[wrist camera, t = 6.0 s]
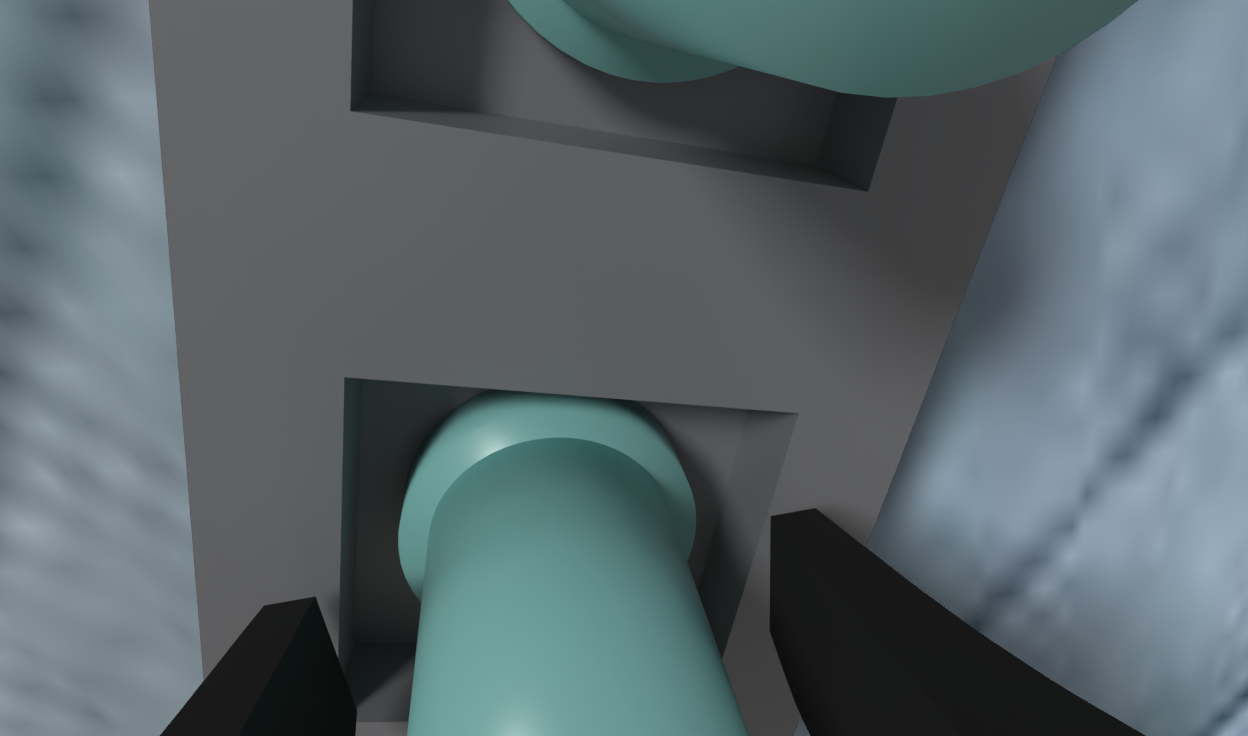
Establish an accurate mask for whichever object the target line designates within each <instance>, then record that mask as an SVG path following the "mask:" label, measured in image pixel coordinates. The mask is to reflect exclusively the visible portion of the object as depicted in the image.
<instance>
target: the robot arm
mask: <svg viewBox="0 0 1248 736" xmlns="http://www.w3.org/2000/svg"><path fill="white" fill-rule="evenodd" d="M769 631H770V634H771V637H772V639H773V642H774V645H775V648H776V651H777V654H778V657H779V660H780V663H781V666H782V668H783V671H784V674H785V677H786V679H787V682H788V685H789V688H790V690H791V693H792V696H793V699H794V701H795V704H796V706H797V708H798V711H799V713H800V715H801V717H802V719H803V721H804V723H805V725H806V727H807V729H808V731H809V734H810V736H1145V735H1143V734H1142V733H1140V732H1138V731H1137V730H1135V729H1133V728H1131V727H1130V726H1128V725H1126V724H1124V723H1123V722H1121V721H1119V720H1118V719H1116V718H1114V717H1112V716H1111V715H1109V714H1107V713H1106V712H1104V711H1102V710H1100V709H1099V708H1097V707H1095V706H1093V705H1092V704H1090V703H1088V702H1087V701H1085V700H1083V699H1081V698H1080V697H1078V696H1076V695H1075V694H1073V693H1071V692H1070V691H1068V690H1067V689H1065V688H1063V687H1062V686H1060V685H1059V684H1057V683H1055V682H1054V681H1052V680H1050V679H1049V678H1047V677H1046V676H1044V675H1043V674H1041V673H1039V672H1038V671H1036V670H1035V669H1033V668H1032V667H1030V666H1029V665H1027V664H1026V663H1024V662H1023V661H1021V660H1020V659H1018V658H1017V657H1015V656H1014V655H1012V654H1011V653H1009V652H1008V651H1006V650H1005V649H1003V648H1002V647H1000V646H999V645H997V644H996V643H994V642H993V641H991V640H990V639H988V638H987V637H985V636H984V635H982V634H981V633H979V632H978V631H977V630H975V629H974V628H972V627H971V626H969V625H968V624H967V623H965V622H964V621H962V620H961V619H960V618H958V617H957V616H956V615H954V614H953V613H951V612H950V611H949V610H947V609H946V608H945V607H943V606H942V605H940V604H939V603H938V602H936V601H935V600H934V599H932V598H931V597H930V596H928V595H927V594H925V593H924V592H923V591H921V590H920V589H919V588H917V587H916V586H915V585H913V584H912V583H911V582H910V581H908V580H907V579H906V578H904V577H903V576H902V575H900V574H899V573H898V572H896V571H895V570H894V569H893V568H891V567H890V566H889V565H887V564H886V563H885V562H884V561H882V560H881V559H880V558H878V557H877V556H876V555H875V554H873V553H872V552H871V551H870V550H868V549H867V548H866V547H864V546H863V545H862V544H861V543H859V542H858V541H857V540H856V539H854V538H853V537H852V536H851V535H849V534H848V533H847V532H845V531H844V530H843V529H842V528H840V527H839V526H838V525H837V524H835V523H834V522H833V521H831V520H830V519H829V518H828V517H826V516H825V515H824V514H822V513H821V512H820V511H819V510H817V509H816V508H813V509H807V510H801V511H796V512H790V513H784V514H779V515H773V516H771V522H770V630H769ZM356 721H357V709H356V706H355V703H354V701H353V698H352V695H351V692H350V690H349V687H348V684H347V681H346V679H345V676H344V673H343V670H342V668H341V665H340V662H339V659H338V657H337V654H336V651H335V648H334V646H333V643H332V640H331V637H330V635H329V632H328V629H327V626H326V624H325V621H324V618H323V615H322V613H321V610H320V607H319V604H318V602H317V599H316V596H315V597H309V598H304V599H298V600H292V601H287V602H281V603H275V604H270V605H264V606H263V607H262V609H261V610H260V611H259V612H258V613H257V615H256V616H255V617H254V618H253V620H252V621H251V622H250V623H249V624H248V626H247V627H246V628H245V629H244V631H243V632H242V633H241V634H240V636H239V637H238V638H237V639H236V641H235V642H234V643H233V644H232V646H231V647H230V648H229V650H228V651H227V652H226V653H225V655H224V656H223V657H222V658H221V660H220V661H219V662H218V663H217V665H216V666H215V667H214V669H213V670H212V671H211V672H210V674H209V675H208V676H207V677H206V679H205V680H204V681H203V683H202V684H201V685H200V686H199V688H198V689H197V690H196V691H195V693H194V694H193V695H192V696H191V698H190V699H189V700H188V701H187V703H186V704H185V705H184V707H183V708H182V709H181V710H180V712H179V713H178V714H177V715H176V716H175V718H174V719H173V720H172V721H171V723H170V724H169V725H168V726H167V727H166V729H165V730H164V731H163V732H162V734H161V735H160V736H355V735H356Z"/></svg>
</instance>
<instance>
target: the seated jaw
mask: <svg viewBox="0 0 1248 736" xmlns="http://www.w3.org/2000/svg"><path fill="white" fill-rule="evenodd" d="M1136 1H1138V0H507V2H508V3H509V4H510V5H511V7H512V8H513V9H514V10H515V12H516V13H517V14H518V15H519V16H520V17H521V18H522V19H523V20H524V21H525V22H526V23H527V24H528V25H529V26H530V27H531V28H532V29H533V30H534V31H536V32H537V33H538V34H540V35H541V36H542V37H543V38H545V39H546V40H547V41H549V42H550V43H551V44H553V45H554V46H555V47H557V48H558V49H560V50H561V51H563V52H565V53H566V54H568V55H570V56H572V57H573V58H575V59H577V60H579V61H580V62H582V63H584V64H586V65H588V66H591V67H593V68H595V69H598V70H600V71H603V72H605V73H608V74H611V75H615V76H619V77H623V78H626V79H630V80H635V81H645V82H654V83H670V82H686V81H692V80H697V79H703V78H708V77H711V76H714V75H717V74H720V73H723V72H726V71H729V70H732V69H734V68H736V67H738V66H741V67H745V68H749V69H753V70H756V71H760V72H764V73H768V74H772V75H776V76H779V77H783V78H787V79H791V80H795V81H799V82H802V83H806V84H810V85H814V86H818V87H822V88H825V89H829V90H833V91H837V92H841V93H848V94H857V95H866V96H876V97H885V98H890V97H914V96H932V95H938V94H943V93H948V92H954V91H959V90H965V89H970V88H975V87H978V86H981V85H984V84H987V83H990V82H993V81H996V80H999V79H1002V78H1005V77H1009V76H1012V75H1015V74H1018V73H1020V72H1022V71H1025V70H1027V69H1029V68H1031V67H1033V66H1035V65H1037V64H1039V63H1041V62H1043V61H1045V60H1048V59H1050V58H1052V57H1054V56H1056V55H1058V54H1060V53H1062V52H1064V51H1066V50H1067V49H1069V48H1071V47H1072V46H1074V45H1075V44H1077V43H1079V42H1080V41H1082V40H1083V39H1085V38H1087V37H1088V36H1090V35H1091V34H1093V33H1094V32H1096V31H1098V30H1099V29H1101V28H1102V27H1104V26H1106V25H1107V24H1108V23H1110V22H1111V21H1112V20H1113V19H1115V18H1116V17H1117V16H1119V15H1120V14H1121V13H1122V12H1124V11H1125V10H1126V9H1127V8H1129V7H1130V6H1131V5H1133V4H1134V3H1135V2H1136Z"/></svg>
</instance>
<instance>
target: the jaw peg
mask: <svg viewBox="0 0 1248 736" xmlns="http://www.w3.org/2000/svg"><path fill="white" fill-rule="evenodd" d="M695 531H696V510H695V502H694V498H693V495H692V491H691V488H690V485H689V483H688V481H687V478H686V476H685V473H684V471H683V469H682V466H681V464H680V462H679V459H678V457H677V454H676V452H675V450H674V447H673V445H672V443H671V441H670V438H669V437H668V435H667V434H666V432H665V430H664V429H663V427H662V426H661V424H660V423H659V422H658V421H657V420H656V419H655V418H654V417H653V415H652V414H651V413H650V412H649V411H647V410H646V409H645V408H644V407H643V406H641V405H640V404H639V403H638V402H636V401H635V400H625V399H612V398H600V397H587V396H574V395H562V394H549V393H537V392H524V391H511V390H499V389H488V390H486V391H484V392H482V393H479V394H477V395H475V396H473V397H472V398H470V399H468V400H467V401H465V402H463V403H462V404H460V405H459V406H457V407H456V408H455V409H453V410H452V411H451V412H450V413H448V414H447V415H446V416H445V417H444V418H443V419H442V420H441V421H440V422H439V423H438V424H437V425H436V426H435V427H434V428H433V429H432V430H431V431H430V433H429V434H428V435H427V437H426V438H425V439H424V441H423V442H422V444H421V446H420V447H419V449H418V451H417V453H416V455H415V457H414V459H413V462H412V465H411V467H410V470H409V473H408V478H407V484H406V489H405V495H404V501H403V507H402V513H401V519H400V525H399V531H398V549H399V556H400V562H401V566H402V569H403V572H404V575H405V578H406V580H407V582H408V584H409V585H410V587H411V589H412V591H413V593H414V594H415V595H416V597H417V598H418V599H419V601H420V602H421V610H420V620H419V629H418V638H417V647H416V656H415V666H414V675H413V684H412V693H411V702H410V712H409V721H408V730H407V736H749V733H748V730H747V728H746V725H745V722H744V719H743V716H742V714H741V711H740V708H739V705H738V702H737V700H736V697H735V694H734V691H733V688H732V686H731V683H730V680H729V677H728V674H727V672H726V669H725V666H724V663H723V661H722V658H721V655H720V652H719V649H718V647H717V644H716V641H715V638H714V635H713V633H712V630H711V627H710V624H709V621H708V619H707V616H706V613H705V610H704V607H703V605H702V602H701V599H700V596H699V594H698V591H697V588H696V585H695V582H694V580H693V577H692V574H691V571H690V568H689V566H688V563H687V561H688V558H689V555H690V553H691V550H692V547H693V542H694V538H695Z"/></svg>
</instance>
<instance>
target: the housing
mask: <svg viewBox="0 0 1248 736" xmlns="http://www.w3.org/2000/svg"><path fill="white" fill-rule="evenodd" d="M149 9H150V22H151V34H152V46H153V59H154V71H155V83H156V96H157V108H158V120H159V133H160V145H161V158H162V170H163V182H164V195H165V207H166V219H167V232H168V244H169V256H170V269H171V281H172V294H173V306H174V318H175V331H176V343H177V355H178V368H179V380H180V393H181V405H182V417H183V430H184V442H185V454H186V467H187V479H188V491H189V504H190V516H191V529H192V541H193V553H194V566H195V578H196V590H197V603H198V615H199V628H200V640H201V652H202V665H203V677H204V680H205V679H206V677H207V676H208V675H209V674H210V672H211V671H212V670H213V669H214V667H215V666H216V665H217V663H218V662H219V661H220V660H221V658H222V657H223V656H224V655H225V653H226V652H227V651H228V650H229V648H230V647H231V646H232V644H233V643H234V642H235V641H236V639H237V638H238V637H239V636H240V634H241V633H242V632H243V631H244V629H245V628H246V627H247V626H248V624H249V623H250V622H251V621H252V620H253V618H254V617H255V616H256V615H257V613H258V612H259V611H260V610H261V609H262V607H263V606H264V605H270V604H275V603H281V602H287V601H292V600H298V599H304V598H309V597H315V596H316V599H317V602H318V604H319V607H320V610H321V613H322V615H323V618H324V621H325V624H326V626H327V629H328V632H329V635H330V637H331V640H332V643H333V646H334V648H335V651H336V654H337V657H338V659H339V662H340V665H341V668H342V670H343V673H344V676H345V679H346V681H347V684H348V687H349V690H350V692H351V695H352V698H353V701H354V703H355V706H356V709H357V721H356V735H355V736H407V730H408V721H409V712H410V702H411V693H412V684H413V675H414V666H415V656H416V647H417V638H418V629H419V620H420V610H421V602H420V601H419V599H418V598H417V597H416V595H415V594H414V593H413V591H412V589H411V587H410V585H409V584H408V582H407V580H406V578H405V575H404V572H403V569H402V566H401V562H400V556H399V549H398V531H399V525H400V519H401V513H402V507H403V501H404V495H405V489H406V484H407V478H408V473H409V470H410V467H411V465H412V462H413V459H414V457H415V455H416V453H417V451H418V449H419V447H420V446H421V444H422V442H423V441H424V439H425V438H426V437H427V435H428V434H429V433H430V431H431V430H432V429H433V428H434V427H435V426H436V425H437V424H438V423H439V422H440V421H441V420H442V419H443V418H444V417H445V416H446V415H447V414H448V413H450V412H451V411H452V410H453V409H455V408H456V407H457V406H459V405H460V404H462V403H463V402H465V401H467V400H468V399H470V398H472V397H473V396H475V395H477V394H479V393H482V392H484V391H486V390H488V389H499V390H511V391H524V392H537V393H549V394H562V395H574V396H587V397H600V398H612V399H625V400H635V401H636V402H638V403H639V404H640V405H641V406H643V407H644V408H645V409H646V410H647V411H649V412H650V413H651V414H652V415H653V417H654V418H655V419H656V420H657V421H658V422H659V423H660V424H661V426H662V427H663V429H664V430H665V432H666V434H667V435H668V437H669V438H670V441H671V443H672V445H673V447H674V450H675V452H676V454H677V457H678V459H679V462H680V464H681V466H682V469H683V471H684V473H685V476H686V478H687V481H688V483H689V485H690V488H691V491H692V495H693V498H694V502H695V510H696V531H695V538H694V542H693V547H692V550H691V553H690V555H689V558H688V561H687V563H688V566H689V568H690V571H691V574H692V577H693V580H694V582H695V585H696V588H697V591H698V594H699V596H700V599H701V602H702V605H703V607H704V610H705V613H706V616H707V619H708V621H709V624H710V627H711V630H712V633H713V635H714V638H715V641H716V644H717V647H718V649H719V652H720V655H721V658H722V661H723V663H724V666H725V669H726V672H727V674H728V677H729V680H730V683H731V686H732V688H733V691H734V694H735V697H736V700H737V702H738V705H739V708H740V711H741V714H742V716H743V719H744V722H745V725H746V728H747V730H748V733H749V736H793V734H794V732H795V729H796V726H797V724H798V721H799V719H800V716H801V715H800V713H799V711H798V708H797V706H796V704H795V701H794V699H793V696H792V693H791V690H790V688H789V685H788V682H787V679H786V677H785V674H784V671H783V668H782V666H781V663H780V660H779V657H778V654H777V651H776V648H775V645H774V642H773V639H772V637H771V634H770V631H769V630H770V522H771V516H773V515H779V514H784V513H790V512H796V511H801V510H807V509H813V508H816V509H817V510H819V511H820V512H821V513H822V514H824V515H825V516H826V517H828V518H829V519H830V520H831V521H833V522H834V523H835V524H837V525H838V526H839V527H840V528H842V529H843V530H844V531H845V532H847V533H848V534H849V535H851V536H852V537H853V538H854V539H856V540H857V541H858V542H859V543H861V544H862V545H863V546H864V547H866V546H867V544H868V541H869V538H870V536H871V533H872V531H873V528H874V526H875V523H876V520H877V518H878V515H879V513H880V510H881V508H882V505H883V502H884V500H885V497H886V495H887V492H888V490H889V487H890V484H891V482H892V479H893V477H894V474H895V472H896V469H897V466H898V464H899V461H900V459H901V456H902V453H903V451H904V448H905V446H906V443H907V441H908V438H909V435H910V433H911V430H912V428H913V425H914V423H915V420H916V417H917V415H918V412H919V410H920V407H921V405H922V402H923V399H924V397H925V394H926V392H927V389H928V387H929V384H930V381H931V379H932V376H933V374H934V371H935V369H936V366H937V363H938V361H939V358H940V356H941V353H942V350H943V348H944V345H945V343H946V340H947V338H948V335H949V332H950V330H951V327H952V325H953V322H954V320H955V317H956V314H957V312H958V309H959V307H960V304H961V302H962V299H963V296H964V294H965V291H966V289H967V286H968V284H969V281H970V278H971V276H972V273H973V271H974V268H975V266H976V263H977V260H978V258H979V255H980V253H981V250H982V247H983V245H984V242H985V240H986V237H987V235H988V232H989V229H990V227H991V224H992V222H993V219H994V217H995V214H996V211H997V209H998V206H999V204H1000V201H1001V199H1002V196H1003V193H1004V191H1005V188H1006V186H1007V183H1008V181H1009V178H1010V175H1011V173H1012V170H1013V168H1014V165H1015V163H1016V160H1017V157H1018V155H1019V152H1020V150H1021V147H1022V144H1023V142H1024V139H1025V137H1026V134H1027V132H1028V129H1029V126H1030V124H1031V121H1032V119H1033V116H1034V114H1035V111H1036V108H1037V106H1038V103H1039V101H1040V98H1041V96H1042V93H1043V90H1044V88H1045V85H1046V83H1047V80H1048V78H1049V75H1050V72H1051V70H1052V67H1053V65H1054V62H1055V59H1056V57H1057V55H1056V56H1054V57H1052V58H1050V59H1048V60H1045V61H1043V62H1041V63H1039V64H1037V65H1035V66H1033V67H1031V68H1029V69H1027V70H1025V71H1022V72H1020V73H1018V74H1015V75H1012V76H1009V77H1005V78H1002V79H999V80H996V81H993V82H990V83H987V84H984V85H981V86H978V87H975V88H970V89H965V90H959V91H954V92H948V93H943V94H938V95H932V96H914V97H890V98H885V97H876V96H866V95H857V94H848V93H841V92H837V91H833V90H829V89H825V88H822V87H818V86H814V85H810V84H806V83H802V82H799V81H795V80H791V79H787V78H783V77H779V76H776V75H772V74H768V73H764V72H760V71H756V70H753V69H749V68H745V67H741V66H738V67H736V68H734V69H732V70H729V71H726V72H723V73H720V74H717V75H714V76H711V77H708V78H703V79H697V80H692V81H686V82H670V83H654V82H645V81H635V80H630V79H626V78H623V77H619V76H615V75H611V74H608V73H605V72H603V71H600V70H598V69H595V68H593V67H591V66H588V65H586V64H584V63H582V62H580V61H579V60H577V59H575V58H573V57H572V56H570V55H568V54H566V53H565V52H563V51H561V50H560V49H558V48H557V47H555V46H554V45H553V44H551V43H550V42H549V41H547V40H546V39H545V38H543V37H542V36H541V35H540V34H538V33H537V32H536V31H534V30H533V29H532V28H531V27H530V26H529V25H528V24H527V23H526V22H525V21H524V20H523V19H522V18H521V17H520V16H519V15H518V14H517V13H516V12H515V10H514V9H513V8H512V7H511V5H510V4H509V3H508V2H507V0H149Z"/></svg>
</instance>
